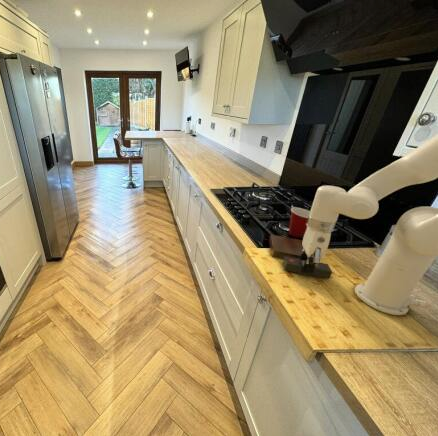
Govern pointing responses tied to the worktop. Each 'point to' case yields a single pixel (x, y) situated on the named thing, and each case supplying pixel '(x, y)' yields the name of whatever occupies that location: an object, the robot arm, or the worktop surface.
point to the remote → (298, 264)
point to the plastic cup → (298, 222)
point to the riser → (286, 247)
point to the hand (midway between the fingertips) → (305, 267)
